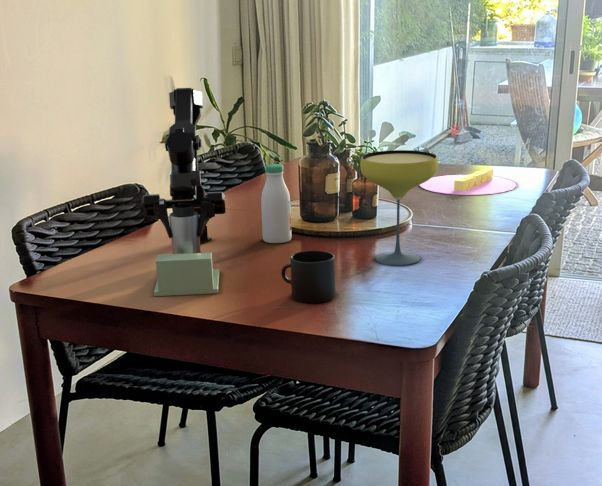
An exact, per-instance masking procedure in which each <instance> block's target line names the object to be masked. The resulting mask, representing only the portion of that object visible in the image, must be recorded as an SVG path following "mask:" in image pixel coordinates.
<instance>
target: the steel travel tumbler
mask: <svg viewBox="0 0 602 486" xmlns="http://www.w3.org/2000/svg"><path fill="white" fill-rule="evenodd" d="M171 210H172V212H171V213H168V217H169V223H170V231H171V238H170V240H171V254H189V253H202V252H201V243H200V237H199V223H198V213H197V212H195V211H194V204H192V203H177V204H174V205H172V208H171Z"/></svg>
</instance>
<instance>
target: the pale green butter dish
mask: <svg viewBox="0 0 602 486" xmlns="http://www.w3.org/2000/svg"><path fill="white" fill-rule="evenodd" d="M155 268H156V283H155V287H154V290H153V296H154V297H165V296H188V295H210V294H219V284H220V283H219V282H220V269H219V268H214V265H213V252H201V253H189V254H172V253H171V254H170V253H169V254H167V253H165V254H157V256H156V259H155Z"/></svg>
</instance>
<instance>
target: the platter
mask: <svg viewBox="0 0 602 486" xmlns="http://www.w3.org/2000/svg"><path fill="white" fill-rule="evenodd" d="M419 187H420V188H422V189H423V190H426V191H429V192H432V193H437V194H445V195H456V196H485V195H486V196H487V195H495V194H496V195H497V194H501V193H506V192H509V191H512V190H514V189H515V188H517V184H516V182H515V181H512V180H510V179H507V178H503V177H499V176H494V169H493V168H481V169H480V170H477V171H475V172H474V171H473V173H469V174H450V175H449V174H448V175H440V176H433V177H432V178H431V179H429V180H428V181H426V182H424V183H422V184H420V185H419Z"/></svg>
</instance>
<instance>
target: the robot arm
mask: <svg viewBox="0 0 602 486" xmlns="http://www.w3.org/2000/svg"><path fill="white" fill-rule="evenodd" d="M168 98H169V108H170V110H172V111H173V112H172V113H173V116H174V123H173V124H172V125H171V126H169V130H168V135H166V137H165V140H164V141H165V142H164V148H165V152H167V153H168V159H169V161H170V164H171V165H170V168H171V169H170V170H171V172H170V173H171V174H169V196H170V197H171V199H165V198H163V197H162V198H161V197H160V194H159V193H157V194H156V193H154V194H153V193H152V194H143V195H142V197H141V208H142V211H143V214H144V217H146V218H155V219H156V220H157V221H158V220H160V222H161V223H162V225H163V226H164V228H165V232H166V233H167V236H168V239H171V231H170V219H169V212H168V209H172V205H174V204H177V203H192V204H194V211H195V212H197V213H198V223H199V237H200V244H203V243H208V242H210V241H212V240H213V239H212V237H209V234H208V233H209V232H208V223H209V221H210V220H211V219H213V218H214V217H216V215H225V214H226V212H227V209H226V208H227V207H226V196H225V195H226V194H225V193H224V192H223V191H208V192H206V191H205V189H204V187H203V186H202V175H201V174H202V173H201V170H199V160H198V159H199V158H198V151H200V150H201V148H202V146H203V141H202V140H203V139H202V138H201V137H200V135H199V134H197V124H198V123H199V121H200V118H202V109H204V97H203V92H202V91H199V90H198V89H195V88H192V87H176V88H174V89H173V91H170V92H168Z"/></svg>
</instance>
